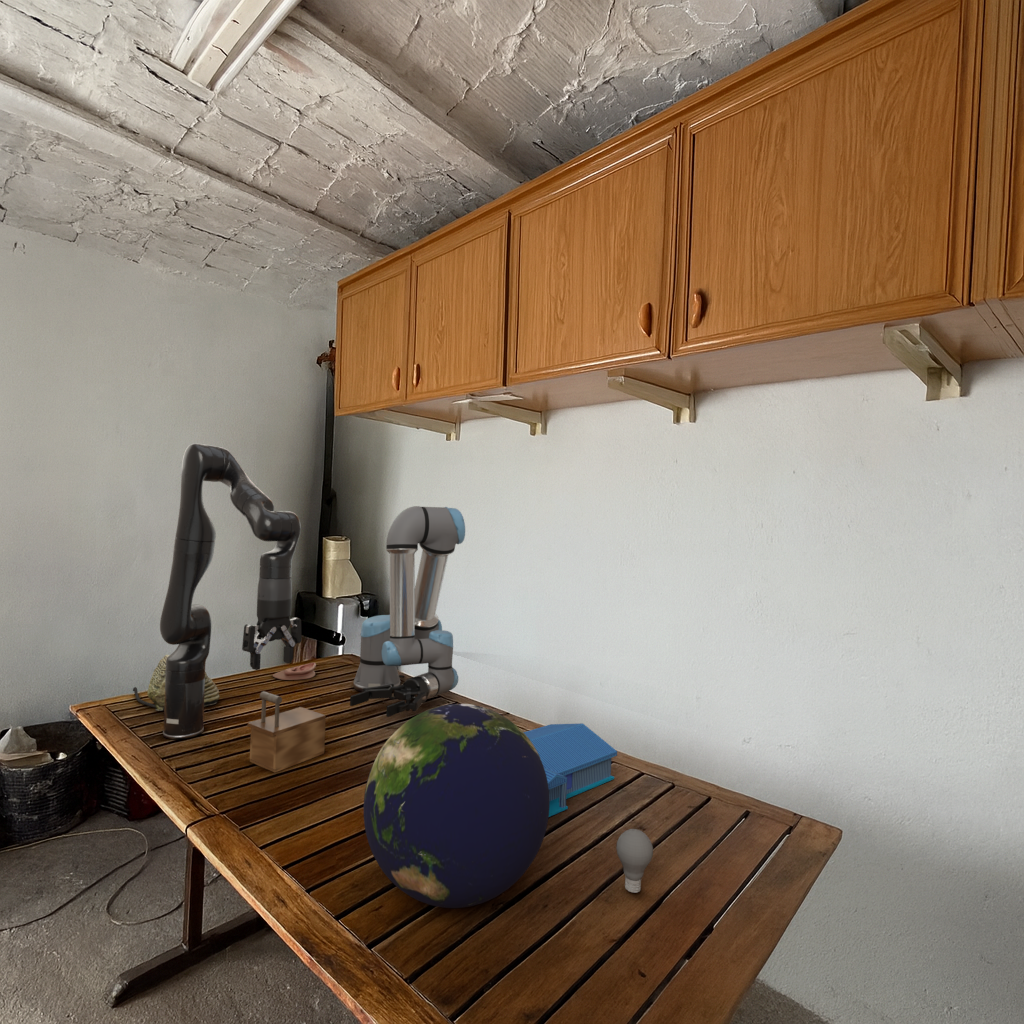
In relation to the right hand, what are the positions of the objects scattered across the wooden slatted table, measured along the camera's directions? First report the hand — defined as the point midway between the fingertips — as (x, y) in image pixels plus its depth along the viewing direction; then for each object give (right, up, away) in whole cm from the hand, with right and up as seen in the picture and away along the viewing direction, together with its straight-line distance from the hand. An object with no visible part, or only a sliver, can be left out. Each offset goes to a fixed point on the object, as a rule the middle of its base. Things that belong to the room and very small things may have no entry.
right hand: (368, 706), depth 173 cm
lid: (-15, +2, -21) cm, 26 cm away
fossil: (-57, -4, +12) cm, 58 cm away
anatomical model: (-37, -4, +47) cm, 60 cm away
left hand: (-17, +17, -25) cm, 35 cm away
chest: (-15, -6, -20) cm, 26 cm away
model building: (+43, -9, -31) cm, 53 cm away
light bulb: (+59, -10, -67) cm, 90 cm away
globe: (+30, -9, -69) cm, 76 cm away
